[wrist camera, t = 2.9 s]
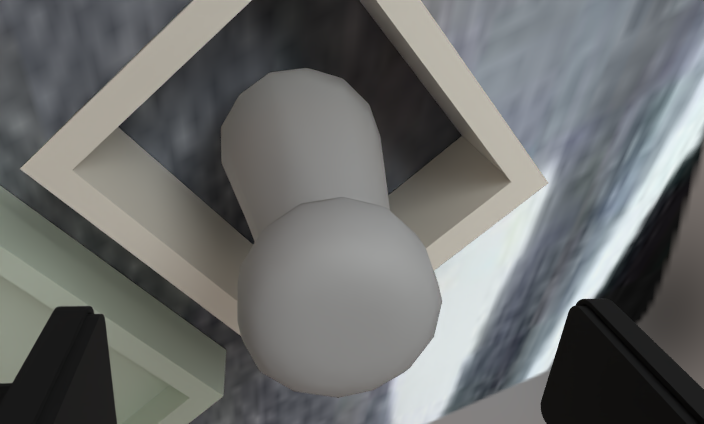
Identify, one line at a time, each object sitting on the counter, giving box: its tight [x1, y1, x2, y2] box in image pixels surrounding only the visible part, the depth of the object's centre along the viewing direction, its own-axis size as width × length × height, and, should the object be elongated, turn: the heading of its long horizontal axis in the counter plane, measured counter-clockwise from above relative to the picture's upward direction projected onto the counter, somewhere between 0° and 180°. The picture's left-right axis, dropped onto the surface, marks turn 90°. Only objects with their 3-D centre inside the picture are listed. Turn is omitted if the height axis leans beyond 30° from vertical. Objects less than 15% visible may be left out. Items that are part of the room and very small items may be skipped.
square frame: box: [20, 0, 548, 336], centre depth 20 cm, size 12×12×5 cm
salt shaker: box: [221, 68, 442, 398], centre depth 16 cm, size 6×6×13 cm
